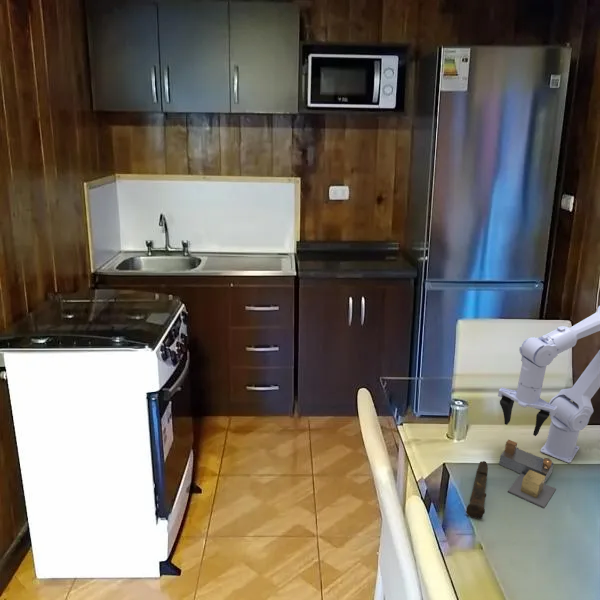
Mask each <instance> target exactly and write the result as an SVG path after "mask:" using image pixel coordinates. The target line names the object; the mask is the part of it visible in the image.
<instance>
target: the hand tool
mask: <svg viewBox="0 0 600 600" xmlns="http://www.w3.org/2000/svg"><path fill="white" fill-rule="evenodd" d="M488 471H489V467H488V462H486V461H485V460H482V461H480V462H479V464H478V466H477V469H476V472H475V473H476V475H475V477H474V478H475V479H474V483H473V487H472V491H471V497H470V500H469V503H468V505H467V506H466V510H465V513H466V515H467V516H468V517H471V518H475V519H483V516H484V514H485V511H486V509H485V506H484V505H485V500H486V497H487V493H486V486H487V481H488Z"/></svg>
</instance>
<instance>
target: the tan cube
mask: <svg viewBox="0 0 600 600" xmlns="http://www.w3.org/2000/svg"><path fill="white" fill-rule="evenodd" d="M545 477H546V476H544V475H541V474H539V473H537V472H534V471H532V470H529V471H528V472H527V474H526V475H525V476H524V478H523V482H522V486H521V492H524V493H526V494H528V495H530V496H533V497H535V498H537V497H538V495H539V494H540V493H541V491H542V490H543V486H544V481H545Z"/></svg>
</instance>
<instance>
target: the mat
mask: <svg viewBox="0 0 600 600" xmlns="http://www.w3.org/2000/svg"><path fill="white" fill-rule="evenodd" d="M524 476H525V475H523V474H520V473H519V475H518V476H517V478H516V479H515V481H513V483H512V485H511V486H510V487H509V488H508V490H507V493H509V494H511V495H514V496H515V497H518V498H520V499H522V500H525V501H527V502H529V503H531V504H533V505H536V506H537V507H540V508H542V509H545V507H546V506H547V505H548V503H549V501H550V500H551V499H552V497H553V495H554V493H555V492H556V490H557V489H556V488H555V487H553V486H551V485H549V484H546V483H545V484H544V486H543V490H542V491H541V493H540V494H539V495H538V497H537V498H535V497H533V496H530V495H528V494H526V493H524V492H521V486H522V482H523V478H524Z"/></svg>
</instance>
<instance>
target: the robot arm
mask: <svg viewBox="0 0 600 600" xmlns="http://www.w3.org/2000/svg"><path fill="white" fill-rule="evenodd" d="M598 332H600V305H598V307H597V309H596V311H595V313H593V314H591V315H590V316H588V317H586V318H584V319H582V320H581V321H579V322H578V323H575V324H574V325H573V326H570V327H569V326H566V325H559V326H558V327H557V328H556V329H553V330H552V331H550V332H548V333H546V334H543V335H541V336H538V337H537V336H535V337H534V336H531V337H529V338H528V337H527V338H526V339H525V340H523V342H522V344H521V346H519V350H518V351H519V353H520V356H521V359H520V361H521V367H520V372H519V379H518V384H517V388H516V390H515V389H510V388H505V387H500V388H499V390H498V393H497V397H499V398H501V399H499V405H500V407H501V410H502V412H503V419H504V420H503V421H504V425H506V426H507V425H508V424H510V422H511V418H512V411H513V407H514V404H515V403H517V405H518V406H519V407H523V408H527V407H528V408H533V409H536V410H538V412H537V414H536V420H535V427H534V429H533V434H532V435H533V436H535V437H536V436H537V435H538V434H539V433H540V430H541V428H542V426H543V424H544V423H545V422H546V420H548V418H549V419H551V421H550V424H549V425H550V426H549V429H548V434H547V438H546V441H545V443H544V445H543V446H542V447H541V448H540V453H542V454H545V455H548V456H549V457H553V458H555V459H557V460H560V461H562V462H565V463H567V464H570V463H572V461H573V459H574V457H576V455H577V453H578V451H579V449H580V445H577V444H578V443H577V442H578V439H579V435H580V431H582V430H584V429H585V428H586V427H587V425H588V424H589V422H590V418H591V417H592V415H593V413H594V408H593V404H592V401H591V399H592V398H593V397H594V395H595V394H596V393H597V392H598V390H599V389H600V349H599V350H598V351H597V353H596V354H595V356H594V357H593V358H592V360H591V361H590V362H589V363H588V365H587V366H586V368H585V369H584V371H582V373H581V375H580V376H579V378H578V379H577V380H576V382H575V383H574V384H573V385H572V387H569V388H568V387H567V388H561V389H560V391H559V392H558V393H557V394H556V395H554V396H553V397H551V399H550V400H549V402H548V401H546V400H544V399H543V398H540V397H541V394H542V389H543V383H544V379H545V374H546V370H547V366H549V365H550V364H551V363H553V360H554V359H556V358H557V356H558V355H560V354H561V353H563V352H565V351H568V350H570V349H571V348H574V347H575V346H576V344H577V342H578V340H580V339H582V338H585V337H588V336H590V335H592V334H595V333H598Z"/></svg>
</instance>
